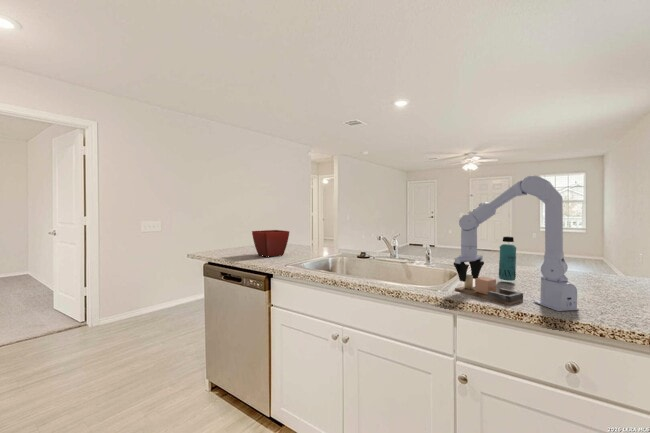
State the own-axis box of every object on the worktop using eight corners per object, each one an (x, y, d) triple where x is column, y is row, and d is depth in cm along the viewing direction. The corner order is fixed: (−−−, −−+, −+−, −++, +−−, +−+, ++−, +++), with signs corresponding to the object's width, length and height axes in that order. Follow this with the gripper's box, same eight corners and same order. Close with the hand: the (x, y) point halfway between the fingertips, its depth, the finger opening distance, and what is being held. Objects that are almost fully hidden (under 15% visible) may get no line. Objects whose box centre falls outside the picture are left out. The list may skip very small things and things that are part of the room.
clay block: (495, 292, 114) (496, 279, 114) (487, 294, 112) (487, 281, 111) (469, 286, 124) (469, 273, 123) (461, 287, 121) (461, 275, 121)
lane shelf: (523, 301, 107) (523, 293, 107) (509, 305, 103) (509, 296, 103) (468, 287, 126) (468, 280, 126) (455, 290, 122) (455, 283, 122)
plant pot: (275, 252, 223) (275, 229, 222) (290, 255, 208) (290, 231, 207) (251, 255, 210) (251, 230, 210) (265, 259, 196) (264, 232, 195)
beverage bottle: (495, 281, 135) (495, 236, 134) (505, 279, 138) (506, 235, 137) (508, 285, 129) (509, 237, 128) (519, 283, 132) (520, 237, 131)
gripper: (471, 243, 128) (471, 275, 128) (448, 245, 120) (447, 280, 121) (487, 245, 121) (487, 279, 122) (463, 247, 114) (463, 284, 115)
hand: (468, 280), depth 121 cm, fingers open, 7 cm apart
